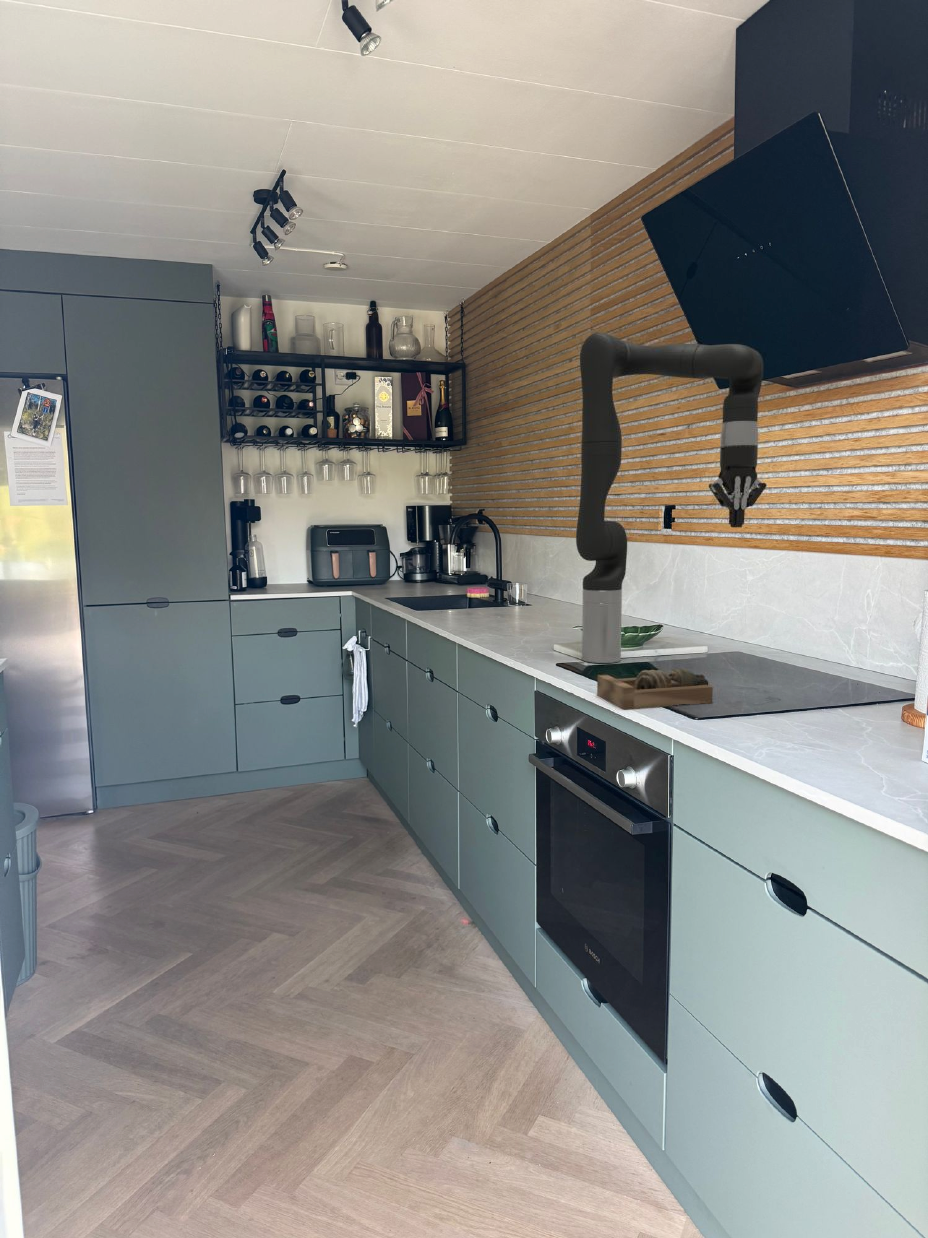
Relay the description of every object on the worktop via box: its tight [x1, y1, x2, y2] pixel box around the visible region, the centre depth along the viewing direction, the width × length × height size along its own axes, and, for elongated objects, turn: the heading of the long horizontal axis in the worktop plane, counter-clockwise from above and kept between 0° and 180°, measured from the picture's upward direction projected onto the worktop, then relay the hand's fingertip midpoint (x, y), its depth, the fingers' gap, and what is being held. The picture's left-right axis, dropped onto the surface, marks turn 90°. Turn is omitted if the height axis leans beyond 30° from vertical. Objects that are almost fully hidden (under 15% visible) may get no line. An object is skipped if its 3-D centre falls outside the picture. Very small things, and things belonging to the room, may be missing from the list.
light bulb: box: [635, 668, 709, 690], centre depth 157 cm, size 6×6×15 cm
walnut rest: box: [596, 674, 714, 710], centre depth 157 cm, size 12×18×4 cm, turn 105°
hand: (736, 527), depth 175 cm, fingers closed
